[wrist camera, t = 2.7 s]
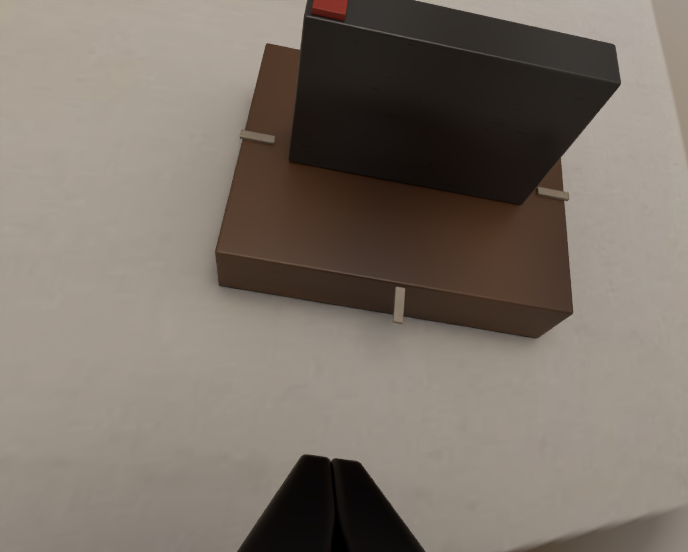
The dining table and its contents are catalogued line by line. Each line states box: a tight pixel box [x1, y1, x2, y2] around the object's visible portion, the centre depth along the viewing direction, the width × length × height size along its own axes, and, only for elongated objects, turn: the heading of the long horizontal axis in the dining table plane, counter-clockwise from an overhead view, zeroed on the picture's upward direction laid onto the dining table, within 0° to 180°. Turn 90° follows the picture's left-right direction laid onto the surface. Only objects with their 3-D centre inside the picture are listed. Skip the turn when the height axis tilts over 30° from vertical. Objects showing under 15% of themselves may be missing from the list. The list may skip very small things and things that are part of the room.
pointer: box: [288, 0, 621, 205], centre depth 20 cm, size 10×2×7 cm, turn 84°
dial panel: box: [215, 43, 573, 338], centre depth 25 cm, size 14×14×3 cm
